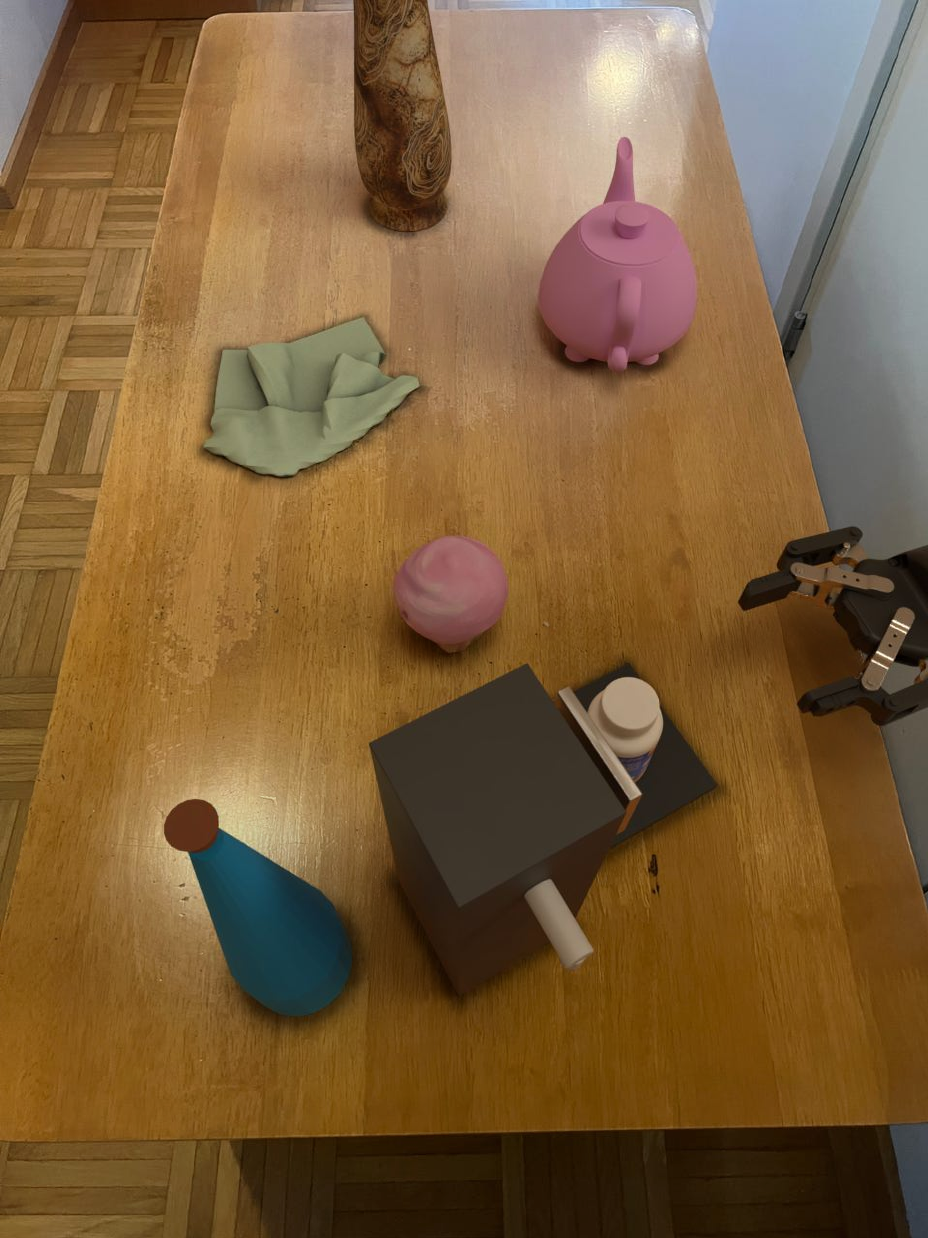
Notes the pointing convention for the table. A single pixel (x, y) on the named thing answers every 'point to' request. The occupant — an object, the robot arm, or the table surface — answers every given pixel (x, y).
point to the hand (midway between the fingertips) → (771, 650)
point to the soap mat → (657, 767)
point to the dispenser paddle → (599, 752)
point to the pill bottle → (629, 722)
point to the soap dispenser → (495, 826)
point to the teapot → (619, 279)
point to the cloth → (302, 399)
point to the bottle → (264, 917)
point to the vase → (400, 114)
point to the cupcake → (451, 591)
